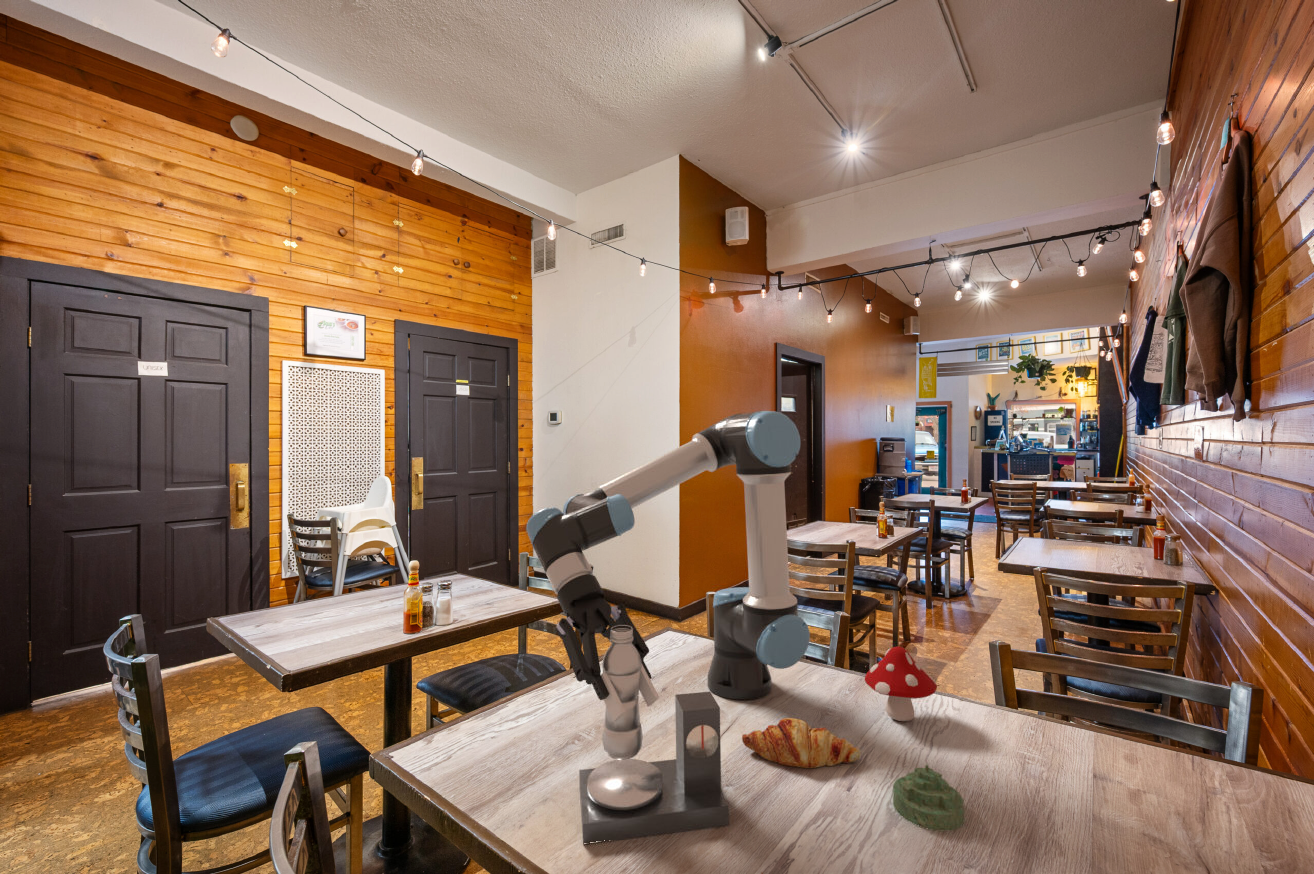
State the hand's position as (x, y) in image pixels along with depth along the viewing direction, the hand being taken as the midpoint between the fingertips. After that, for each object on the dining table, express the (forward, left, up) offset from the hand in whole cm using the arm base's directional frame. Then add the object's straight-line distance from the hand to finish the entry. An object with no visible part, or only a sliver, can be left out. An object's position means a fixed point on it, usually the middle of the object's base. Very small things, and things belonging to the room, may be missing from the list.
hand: (636, 708), depth 89 cm
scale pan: (+2, -3, -14) cm, 14 cm away
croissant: (-32, -11, -18) cm, 38 cm away
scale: (-2, -3, -17) cm, 17 cm away
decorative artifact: (-45, +6, -18) cm, 49 cm away
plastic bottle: (+2, -3, -9) cm, 9 cm away
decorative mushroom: (-58, -21, -17) cm, 64 cm away
